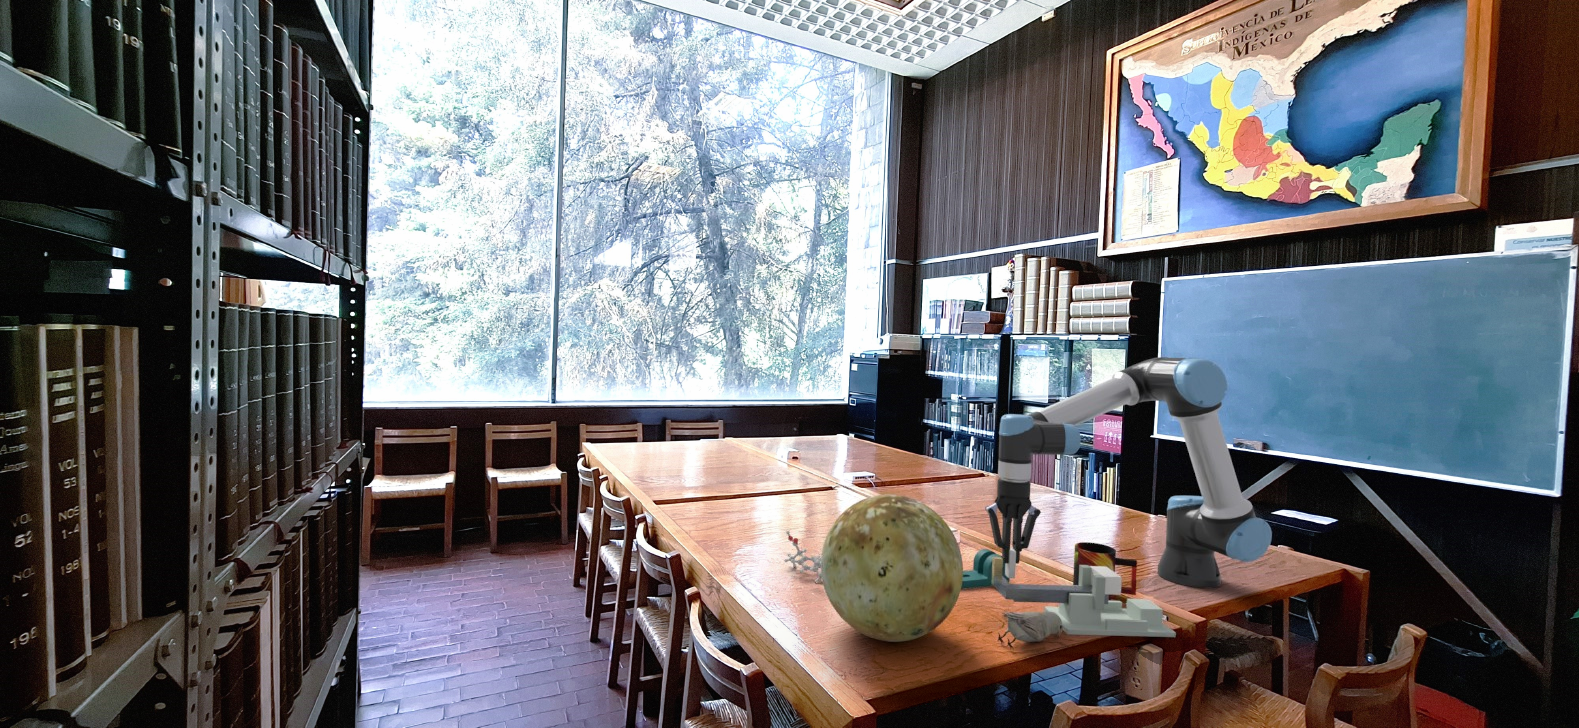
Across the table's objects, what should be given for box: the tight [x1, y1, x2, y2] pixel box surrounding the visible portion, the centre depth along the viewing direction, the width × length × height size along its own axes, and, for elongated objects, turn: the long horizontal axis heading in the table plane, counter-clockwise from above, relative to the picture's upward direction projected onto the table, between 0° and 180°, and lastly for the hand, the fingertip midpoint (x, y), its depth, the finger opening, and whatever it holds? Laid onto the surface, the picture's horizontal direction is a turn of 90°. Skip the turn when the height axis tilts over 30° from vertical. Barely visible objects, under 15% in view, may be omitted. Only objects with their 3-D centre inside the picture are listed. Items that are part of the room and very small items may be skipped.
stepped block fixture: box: [1043, 565, 1177, 638], centre depth 151 cm, size 24×13×12 cm, turn 91°
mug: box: [1072, 541, 1138, 601], centre depth 170 cm, size 10×14×12 cm
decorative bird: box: [997, 611, 1063, 652], centre depth 140 cm, size 5×16×8 cm, turn 113°
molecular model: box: [784, 530, 822, 583], centre depth 177 cm, size 19×10×10 cm, turn 26°
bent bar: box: [992, 557, 1109, 604], centre depth 154 cm, size 24×10×7 cm, turn 91°
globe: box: [820, 494, 964, 643], centre depth 141 cm, size 30×30×30 cm
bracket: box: [961, 548, 1011, 590], centre depth 175 cm, size 18×7×8 cm, turn 108°
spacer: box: [1090, 566, 1122, 596], centre depth 151 cm, size 4×7×4 cm, turn 1°
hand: (1009, 576), depth 159 cm, fingers closed
